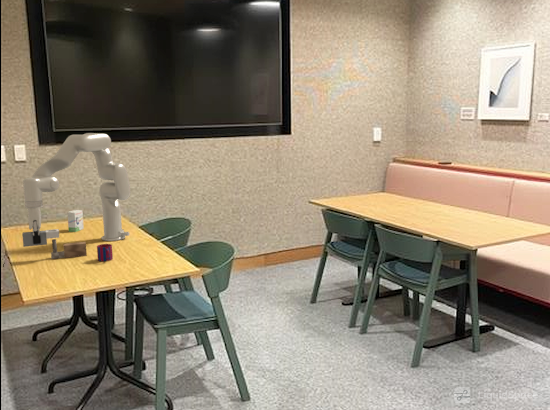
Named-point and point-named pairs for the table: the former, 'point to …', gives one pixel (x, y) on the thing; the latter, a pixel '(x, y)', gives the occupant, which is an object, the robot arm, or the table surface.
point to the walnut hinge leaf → (69, 250)
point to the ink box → (75, 220)
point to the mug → (104, 252)
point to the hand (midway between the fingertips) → (37, 242)
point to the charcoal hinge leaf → (43, 236)
